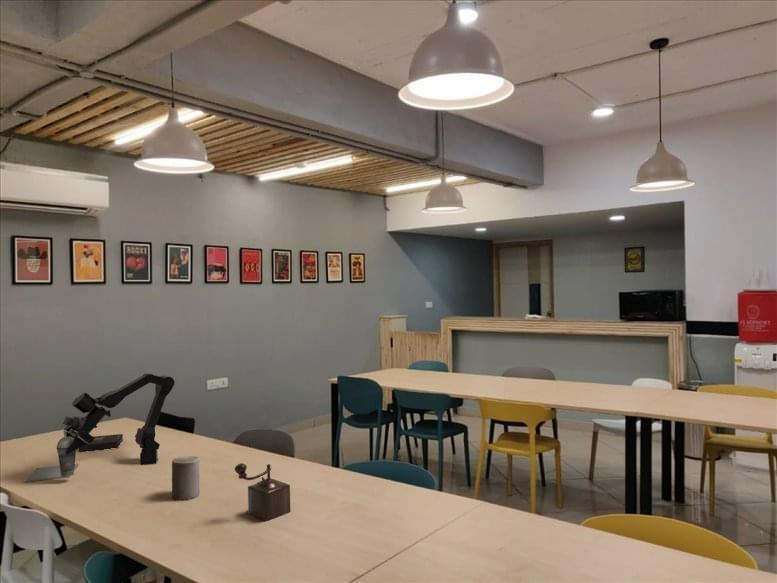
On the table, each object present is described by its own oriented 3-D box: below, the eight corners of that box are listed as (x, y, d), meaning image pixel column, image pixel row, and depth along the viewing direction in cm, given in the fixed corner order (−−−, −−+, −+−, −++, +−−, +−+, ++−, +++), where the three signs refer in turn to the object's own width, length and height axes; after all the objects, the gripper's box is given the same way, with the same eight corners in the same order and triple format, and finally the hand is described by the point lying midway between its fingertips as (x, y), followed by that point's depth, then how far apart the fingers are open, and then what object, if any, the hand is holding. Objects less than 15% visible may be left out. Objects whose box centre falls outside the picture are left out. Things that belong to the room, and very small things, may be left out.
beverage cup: (70, 478, 216) (69, 427, 216) (52, 478, 216) (51, 428, 216) (81, 471, 223) (80, 423, 223) (64, 472, 223) (63, 423, 223)
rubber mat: (78, 465, 242) (78, 463, 242) (69, 477, 225) (69, 475, 225) (37, 469, 237) (37, 468, 237) (24, 482, 220) (24, 481, 220)
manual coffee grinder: (271, 504, 190) (270, 453, 191) (291, 512, 183) (290, 458, 183) (233, 518, 179) (232, 464, 179) (252, 527, 171) (251, 470, 172)
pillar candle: (170, 502, 194) (170, 460, 194) (173, 492, 204) (173, 453, 204) (199, 499, 197) (198, 458, 197) (200, 490, 206) (200, 450, 206)
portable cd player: (86, 444, 278) (86, 437, 278) (122, 441, 284) (122, 433, 284) (78, 453, 263) (78, 445, 263) (117, 449, 268) (117, 441, 268)
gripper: (68, 405, 229) (39, 437, 220) (84, 411, 216) (54, 445, 208) (89, 420, 234) (61, 452, 226) (106, 427, 222) (77, 460, 214)
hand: (63, 452), depth 218 cm, fingers closed on beverage cup, 7 cm apart
